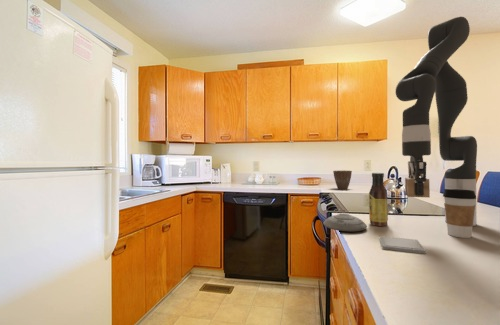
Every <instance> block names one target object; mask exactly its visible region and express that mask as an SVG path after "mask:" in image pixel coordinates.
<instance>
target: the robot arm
mask: <svg viewBox="0 0 500 325" xmlns="http://www.w3.org/2000/svg"><path fill="white" fill-rule="evenodd" d="M470 30H471V28H470V23H469V20H468V19H467V18H466V17H464V16H457V17H454V18H451V19H448V20H446V21H444V22H440V23H438V24H436V25H434V26H431V27H430V28H429V29H428V31H427V32H428V34H427V44H428V51H427V52H426V53H425V54H423V56H422V57H421V58H420V59H419V61H418V62H417V63H416V65H415V67H414V68H412V69H411V70H410V71H409V72H407V74H406V75H405V74H404V76H403V77H402V78H401V79H400V80H399V81H398V82H397V85H396V87H395V96H396V98H397V99H398V100H399V101H402V102H409V101H415V100H416V101H415V103H414V104H413V105H411V106H409V107H406V108H405V109H404V110H403V111H402V131H401V151H402V152H401V154H402V156H403V157H409V159H410V160H409V161H407V168H408V177H407V178H414V186H415V195H416V196H423V195H424V184H423V183H424V182H426V178H427V161H424V156H430V155H431V154H432V139H431V135H432V134H431V133H432V132H431V128H430V127H431V126H430V111H431V107H432V104H433V99H434V96H435V102H436V110H437V117H438V118H437V119H438V141H439V143H438V144H439V145H438V147H439V155H440V157H441V159H442V160H443V161H448V162H449V161H451V162H453V161H455V162H456V161H459V162H461V161H463V163H462V164H461V165H460V166H458V167H455V168H451V169H449V170H448V169H447V170H445V173H444V189H462V190H472V191H474V192H475V195H476V196H477V156H478V155H477V153H478V143H477V139H476V138H475V136H472V135H465V136H452V135H451V134H452V129H453V125H454V124H455V122H456V120H457V119H458V117H459V116H460V114H461V113H462V112H463V110H464V108H465V107H466V105H467V104H468V87H467V86H468V85H467V81H466V79H465V78H464V77H463V76H462V75H461V74H460V73H459V72H458V71H457V70H455V69H454V68H453V66H451V64H450V63H449V61H448V60H449V59H450V58H451V57H452V56H453V55H454V54H455V53H456V51H458V50H459V48H460V47H462V46H463V45H464V44H465V42H467V40H468V37H469V35H470ZM474 205H475V211H474V220H473V227H475V226H478V225H477V223H478V222H477V220H478V219H477V211H478V210H477V208H478V207H477V198H476V199H475V203H474ZM444 215H445V217H444V220H445V221H444V222H445V223H447V221H446V214H444Z"/></svg>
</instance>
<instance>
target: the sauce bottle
mask: <svg viewBox="0 0 500 325" xmlns="http://www.w3.org/2000/svg"><path fill="white" fill-rule="evenodd" d="M371 177H372V179H371V180H372V182H371V183H372V184H371V187H370V190H369V192H368V210H369V211H368V212H369V224H371V225H372V226H376V227H386V226H387V225H388V220H389V216H388V212H389V211H388V210H389V209H388V191H387V188H386V187H385V185H384V184H385V183H384V177H385V173H384V172H372V173H371Z"/></svg>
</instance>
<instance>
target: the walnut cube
mask: <svg viewBox="0 0 500 325" xmlns="http://www.w3.org/2000/svg"><path fill="white" fill-rule="evenodd" d="M423 184H424V195H423V196H416V195H415V186H414V178H409V177H405V178H404V190H405V196H407V197H408V198H430V197H431V196H430V194H431V193H430V178H427V177H426V182H424V183H423Z"/></svg>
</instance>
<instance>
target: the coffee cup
mask: <svg viewBox="0 0 500 325" xmlns="http://www.w3.org/2000/svg"><path fill="white" fill-rule="evenodd" d="M442 197H444V204H443V205H444V211H445V214H446V221H447V222H446V228H447V235H448V236H451V237H455V238H460V239H470V238H472V236H473V227H474V226H473V220H474V211H475V205H474V203H475V199H476V200H477V194H476V195H475V192H474V191H472V190H462V189H445V188H444V191H443V193H442ZM445 214H444V215H445Z"/></svg>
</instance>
